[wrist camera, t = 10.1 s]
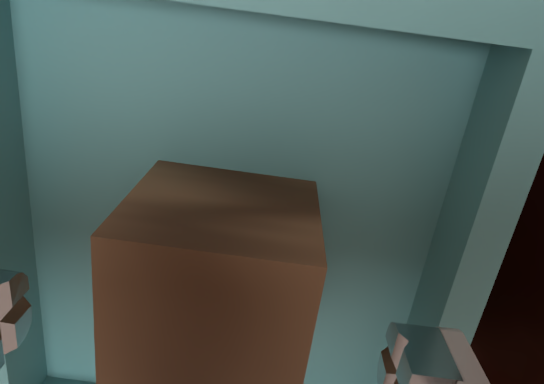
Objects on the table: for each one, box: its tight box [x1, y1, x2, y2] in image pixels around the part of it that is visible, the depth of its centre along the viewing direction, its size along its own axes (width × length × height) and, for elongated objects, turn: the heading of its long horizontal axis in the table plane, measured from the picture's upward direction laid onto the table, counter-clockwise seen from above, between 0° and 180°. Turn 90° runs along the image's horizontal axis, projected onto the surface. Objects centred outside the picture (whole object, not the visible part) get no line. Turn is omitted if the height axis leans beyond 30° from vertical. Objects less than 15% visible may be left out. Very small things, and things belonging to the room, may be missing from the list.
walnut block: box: [90, 160, 327, 384], centre depth 11 cm, size 4×4×4 cm
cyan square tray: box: [0, 0, 544, 384], centre depth 14 cm, size 14×15×5 cm
